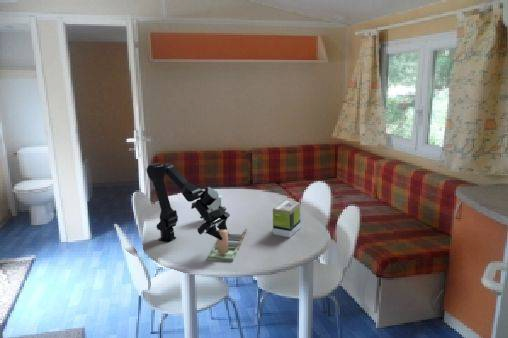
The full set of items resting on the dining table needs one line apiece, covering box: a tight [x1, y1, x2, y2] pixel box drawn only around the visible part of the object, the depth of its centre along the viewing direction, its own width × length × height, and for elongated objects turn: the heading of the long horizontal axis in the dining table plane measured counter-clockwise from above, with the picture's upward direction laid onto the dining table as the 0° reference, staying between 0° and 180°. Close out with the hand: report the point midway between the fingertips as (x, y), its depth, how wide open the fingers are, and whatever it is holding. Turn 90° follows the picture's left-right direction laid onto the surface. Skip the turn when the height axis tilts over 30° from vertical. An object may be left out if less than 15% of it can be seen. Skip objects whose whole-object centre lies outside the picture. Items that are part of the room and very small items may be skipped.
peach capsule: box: [217, 229, 229, 254], centre depth 176 cm, size 5×5×10 cm
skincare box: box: [209, 194, 224, 210], centre depth 219 cm, size 8×6×15 cm
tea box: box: [272, 199, 302, 238], centre depth 202 cm, size 15×10×15 cm, turn 152°
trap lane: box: [207, 228, 248, 263], centre depth 189 cm, size 36×12×1 cm, turn 171°
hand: (225, 237), depth 175 cm, fingers closed on peach capsule, 5 cm apart
